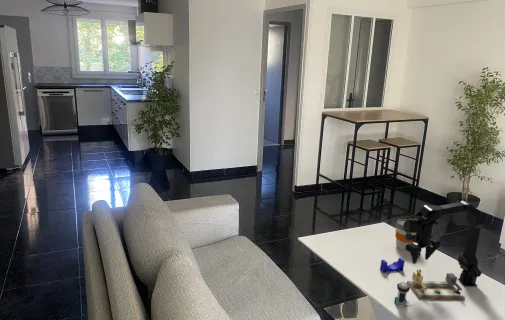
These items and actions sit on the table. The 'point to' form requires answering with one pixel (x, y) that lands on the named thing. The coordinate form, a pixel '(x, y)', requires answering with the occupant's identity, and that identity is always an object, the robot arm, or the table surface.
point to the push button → (402, 294)
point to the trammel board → (436, 290)
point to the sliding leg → (418, 279)
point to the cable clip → (392, 266)
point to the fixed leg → (452, 281)
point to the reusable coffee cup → (401, 235)
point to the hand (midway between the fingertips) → (420, 261)
